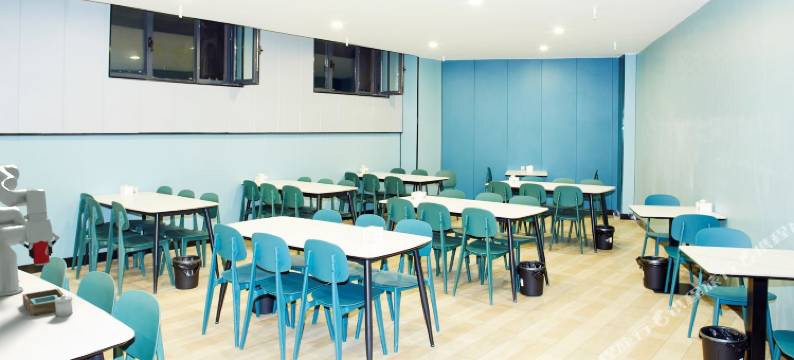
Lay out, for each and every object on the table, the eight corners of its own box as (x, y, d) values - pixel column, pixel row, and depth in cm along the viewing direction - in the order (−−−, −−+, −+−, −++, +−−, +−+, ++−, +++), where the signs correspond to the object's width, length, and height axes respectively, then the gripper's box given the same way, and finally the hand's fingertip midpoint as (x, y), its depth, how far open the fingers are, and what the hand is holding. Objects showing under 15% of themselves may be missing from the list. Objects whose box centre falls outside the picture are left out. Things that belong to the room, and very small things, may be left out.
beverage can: (53, 262, 269) (50, 236, 268) (43, 265, 263) (41, 238, 262) (39, 263, 269) (37, 236, 269) (30, 266, 263) (28, 239, 262)
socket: (30, 304, 259) (30, 299, 259) (56, 300, 265) (56, 294, 265) (34, 310, 251) (33, 304, 251) (60, 305, 258) (60, 299, 257)
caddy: (23, 304, 263) (22, 294, 262) (59, 298, 271) (58, 288, 271) (31, 316, 246) (30, 305, 245) (69, 309, 254) (68, 299, 254)
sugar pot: (57, 312, 250) (56, 293, 249) (75, 311, 252) (73, 292, 251) (53, 317, 244) (51, 298, 243) (71, 316, 245) (69, 296, 245)
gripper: (16, 220, 256) (20, 261, 257) (61, 215, 267) (64, 254, 269) (13, 218, 262) (17, 258, 263) (57, 214, 273) (60, 252, 274)
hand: (41, 256), depth 266 cm, fingers closed on beverage can, 6 cm apart
